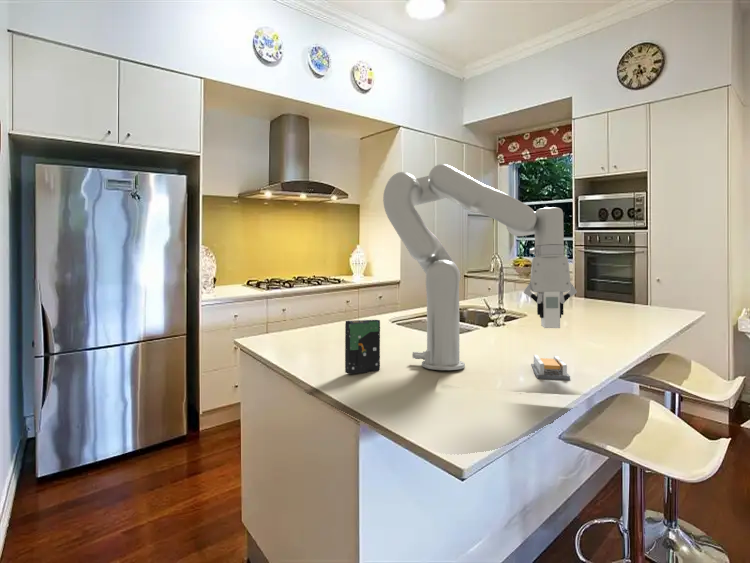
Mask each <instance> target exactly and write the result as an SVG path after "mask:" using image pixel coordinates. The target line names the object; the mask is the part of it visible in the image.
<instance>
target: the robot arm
mask: <svg viewBox="0 0 750 563" xmlns="http://www.w3.org/2000/svg"><path fill="white" fill-rule="evenodd" d="M445 199H447V200H450V201H451V202H453V203H455V204H457V205H458V206H460V207H462V208H463V209H465V210H467V211H470V212H472V213H476V214H481V215H485V216H487V217H489V218H491V219H493V220H494V221H497V222H499V223H501V224H502V225H504V226H505V227H506V229H507V231H508V232H509V234H511V235H512V236H514V237H524V236H530V235H531V236H532V235H534V247H533V248H529V254H533V255H534V256H535V257H532V260H531V267H530V280H529V282H528V285H527V286H526V287H525V289H524V290H523V293H524V295H526V296H528V297H530V298H531V299H532V300H533V301H534V302H535V303H536V308H537V310H536V312H537V316H539V318H540V319H541V318H543V304H542V297H543V293H544V292H554V291H560V319H562V316H563V315H564V304H565V302H566V301H568V300H569V299H570V298H571V297H572V296H574V295H576V294H577V293H578V291H577V290H578V289H576V288H575V286H574V285H573V283H572V282H571V273H570V272H571V271H570V264H569V260H568V259H569V258H568V256H565V249H564V248H565V247H564V245H565V243H564V238H565V237H564V235H565V233H564V232H565V230H564V212H563V209H562V208H560V207H556V206H555V207H554V206H552V207H543V208H538V209H536V211H534V209H533V208H532V207H530V206H529V205H528V204H526V203H524V202H522V201H520V200H519V199H517V198H514V197H513V196H511V195H509V194H507V193H505V192H503V191H500V190H498V189H497V188H496V189H495V188H494V187H491V186H489V185H486V184H484V183H482V182H480V181H479V180H477V179H474V178H473V177H471V176H470V175H467V174H466V173H464V172H463V171H461V170H458V169H457V168H455V167H453V166H451V165H449V164H447V163H438V164H437V165H434V166H433V167H432V168H431V170H430V172H429V174H428V175H425V176H422V177H418V178H416V177H415V176H414V175H413V174H411V173H409V172H406V171H399V172H398V171H397V172H396V173H394V174H393V175H392V176H390V178H389V179H388V181H387V183H386V184H385V188H384V190H383V200H382V202H383V208H384V212H385V214H386V217H387V219H388V220H389V223H390V224H391V225H392V227H393V229H394V230H395V231H396V233H397V235H398V237H399V238H400V239H401V241H402V243H403V245H404V246H405V247H406V249H407V251H408V253H409V255H410V256H411V257H412V259H414V260H415V261H417V263H418V264H419V266H420V268H422V270H423V272H424V273H425V292H426V350H425V351H422V352H420V351H412V359H416V360H423V361H421V366H422V367H423V368H425V369H429V370H434V371H435V370H436V371H456V370H457V371H458V370H462V369H464V368H465V367H466V363H465V362H464V361H461V360H460V281H461V277H462V276H461V275H462V274H461V270H460V269H459V267H458V266H457V264H456V262H455V260H453V258H452V257H451V255H450V254H449V252H448V250H447V249H446V248H445V246H444V245H443V244H442V242H441V241H440V239H439V238H438V237H437V235H436V234H434V233H433V232H432V231H431V230H430V229H429V228H428V226H427V224H426V223H425V222H424V220H423V218H422V216H420V214H419V212H418V211H417V209H416V208H415V206H419V205H425V204H428V203H432V202H436V201H440V200H445ZM533 292H534V293H536V294H534V293H533ZM564 293H565V294H564Z"/></svg>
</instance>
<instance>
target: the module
mask: <svg viewBox="0 0 750 563" xmlns="http://www.w3.org/2000/svg"><path fill="white" fill-rule="evenodd" d="M542 304H543V318H540V322H541V323H540V324H541V325H540V326H541V327H542V328H544V329H561V318H560V291H554V292H544V293H543V297H542Z"/></svg>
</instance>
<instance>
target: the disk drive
mask: <svg viewBox="0 0 750 563" xmlns="http://www.w3.org/2000/svg"><path fill="white" fill-rule="evenodd" d="M344 326H345V328H344V330H345V331H344V333H345V334H344V335H345V338H344V340H345V341H344V343H345V346H344V356H345V357H344V358H345V359H344V368H345V369H344V372H345V374H348V375H355V374H362V373H364V374H365V373H369V372H379V370H381V368H380V367H381V361H380V360H381V320H380V319H360V320H359V319H357V320H345V324H344Z"/></svg>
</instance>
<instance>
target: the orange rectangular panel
mask: <svg viewBox="0 0 750 563" xmlns="http://www.w3.org/2000/svg"><path fill="white" fill-rule="evenodd" d="M539 358H540V359H541V361H542V362H543V363H544V369H559V370H560V365H559V364H558V363H557V362H556V361H555V360H554V358H545V357H544V358H541V357H539Z"/></svg>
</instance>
